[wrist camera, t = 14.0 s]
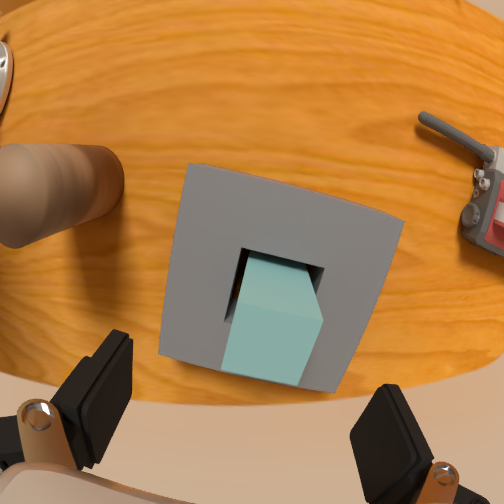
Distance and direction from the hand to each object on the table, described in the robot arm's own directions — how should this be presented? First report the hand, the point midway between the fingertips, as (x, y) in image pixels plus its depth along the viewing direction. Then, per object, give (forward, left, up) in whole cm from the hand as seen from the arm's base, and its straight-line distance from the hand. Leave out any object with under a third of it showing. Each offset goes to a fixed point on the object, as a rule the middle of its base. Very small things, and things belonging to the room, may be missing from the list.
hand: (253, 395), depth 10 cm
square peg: (0, +1, -14) cm, 14 cm away
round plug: (-4, -15, -14) cm, 21 cm away
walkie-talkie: (-11, +18, -15) cm, 26 cm away
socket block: (0, +1, -14) cm, 14 cm away
